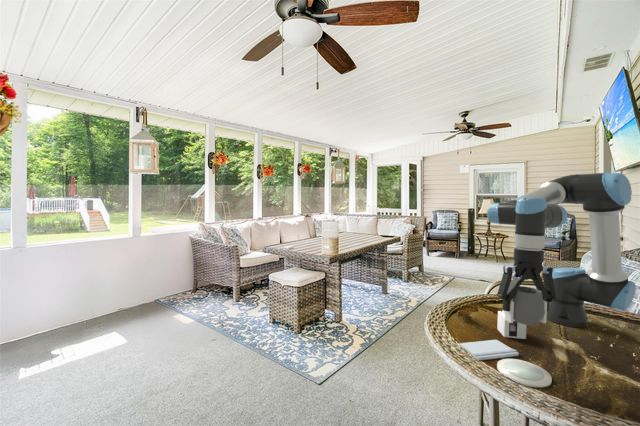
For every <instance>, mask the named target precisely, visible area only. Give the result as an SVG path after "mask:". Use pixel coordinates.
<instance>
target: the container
mask: <svg viewBox="0 0 640 426" xmlns="http://www.w3.org/2000/svg"><path fill="white" fill-rule="evenodd" d="M496 324H497V331H499V333H500V334H501V336H503V337H504V338H510V339H520V340H521V339H522V340H526V339H527V327H528V325H525V324H521V323H518V322H516V321H515V320H514V319H513V323H510V322H508V321H506V320H505V310H504V309H503V308H502V311H501V310H498V311H497V323H496Z"/></svg>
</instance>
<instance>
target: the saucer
mask: <svg viewBox="0 0 640 426" xmlns="http://www.w3.org/2000/svg"><path fill="white" fill-rule="evenodd" d="M496 369H497V371H498V373H500V374H501V373H502V374H503V375H505V376H506V377H508V378H510V379H513V380H515V381H517V382H519V383H521V384H524V385H523V386H525V385H527V387H530V388H547V387H549V386H550V385H552V381H553V378H552V375H551V374H550V373H549V372H548V371H547V370H546V369H544V368H542V367H541V366H539V365H536V364H534V363H532V362H529V361H525V360H523V359H516V358H501V359H500V360H498V361H497V363H496ZM502 374H501V375H502ZM503 375H502V376H503ZM506 377H505V378H506ZM521 384H520V385H521Z"/></svg>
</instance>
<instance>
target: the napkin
mask: <svg viewBox="0 0 640 426" xmlns="http://www.w3.org/2000/svg"><path fill="white" fill-rule="evenodd" d="M458 344H459V345H460V346H461V347H462V348H464V349H465V350H466V351H467V352H468V353H470V354H471V355H472V356H473V357H472V356H471V355H470V354H469V355H470V356H471V357H472V358H474V357H475V358H476V359H478V360H477V361H484V360H485V361H486V360H494V359H505V358H510V357H511V358H513V357H519V354H520V353H519V352H518V350H516V349H514V348H511V347H509V346H508V345H506V344H504V343H503V342H501V341H500V340H498V339H488V340H479V341H468V342H459V343H458ZM467 352H466V353H467ZM468 353H467V354H468ZM475 358H474V359H475ZM476 359H475V360H476Z"/></svg>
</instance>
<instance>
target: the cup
mask: <svg viewBox="0 0 640 426" xmlns="http://www.w3.org/2000/svg"><path fill="white" fill-rule="evenodd" d="M511 301H513V302H514V312H513V319H514V320H515V321H516V322H518V323H521V324H525V325H527V326H537V325H538V324H539V323H540V322H541V321H540V320H541V319H542V318H543V316H544V315H545V309H544V302H543V295H542V292H541V291H540V290H538V289H536V287H535V288H534V287H530V286H525V285H523V286H522V285H520V286H519V288H518V290H517V291H516V293H515V295H514V297H513V298H512V300H511Z"/></svg>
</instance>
